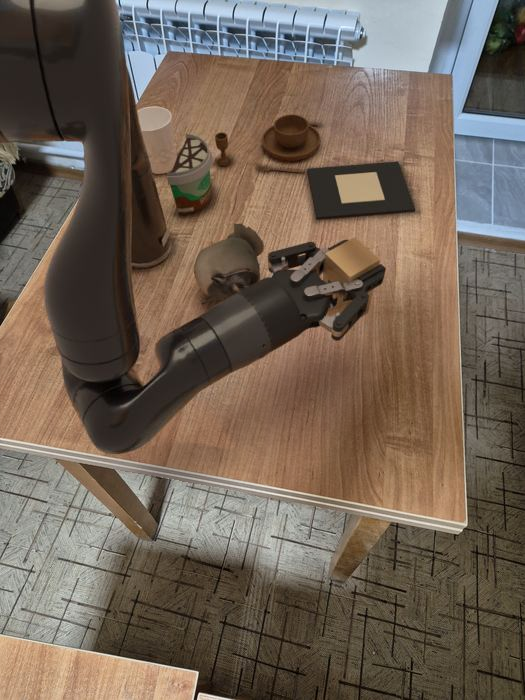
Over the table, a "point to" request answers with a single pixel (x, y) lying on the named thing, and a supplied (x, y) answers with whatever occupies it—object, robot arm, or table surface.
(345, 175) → the mat
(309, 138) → the place setting
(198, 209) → the food container
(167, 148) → the white cup
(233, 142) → the table surface
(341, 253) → the tan block
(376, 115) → the table surface
